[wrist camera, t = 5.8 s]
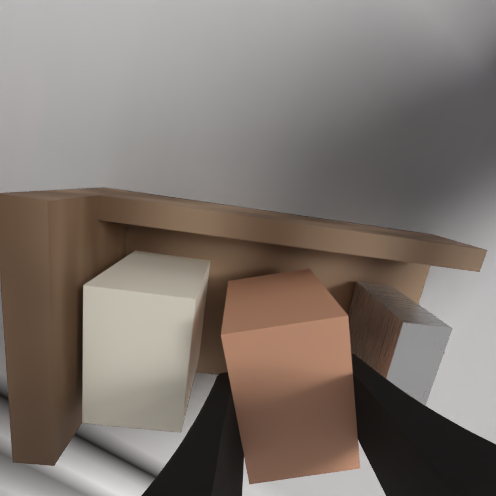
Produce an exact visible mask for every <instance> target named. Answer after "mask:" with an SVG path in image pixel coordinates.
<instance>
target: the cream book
mask: <svg viewBox="0 0 496 496" xmlns="http://www.w3.org/2000/svg"><path fill="white" fill-rule="evenodd" d="M209 269H210V260H203V259H195V258H188V257H180V256H173V255H165V254H157V253H150V252H142V251H134V252H132V253H131V254H129V255H128V256H126V257H125V258H123V259H122V260H120V261H119V262H117V263H116V264H114V265H113V266H111V267H110V268H108V269H107V270H105V271H104V272H102V273H101V274H99V275H98V276H96V277H95V278H93V279H92V280H90V281H89V282H87V283H86V284H84V285H83V394H82V423H87V424H97V425H108V426H118V427H129V428H139V429H150V430H160V431H171V432H182V427H183V423H184V419H185V415H186V411H187V406H188V402H189V398H190V394H191V389H192V385H193V381H194V377H195V373H196V368H197V364H198V360H199V354H200V345H201V337H202V328H203V320H204V311H205V303H206V294H207V286H208V277H209Z"/></svg>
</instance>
